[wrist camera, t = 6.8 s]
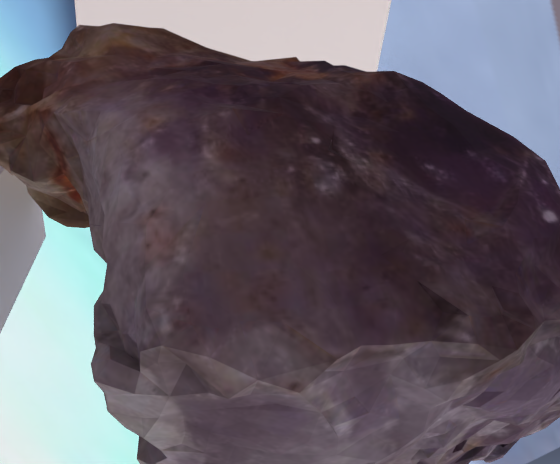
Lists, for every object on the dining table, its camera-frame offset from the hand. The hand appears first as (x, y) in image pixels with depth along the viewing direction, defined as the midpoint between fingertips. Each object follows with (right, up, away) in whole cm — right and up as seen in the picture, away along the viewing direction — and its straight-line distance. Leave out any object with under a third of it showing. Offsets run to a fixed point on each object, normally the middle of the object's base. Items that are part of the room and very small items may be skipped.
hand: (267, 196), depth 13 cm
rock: (+1, 0, +1) cm, 1 cm away
